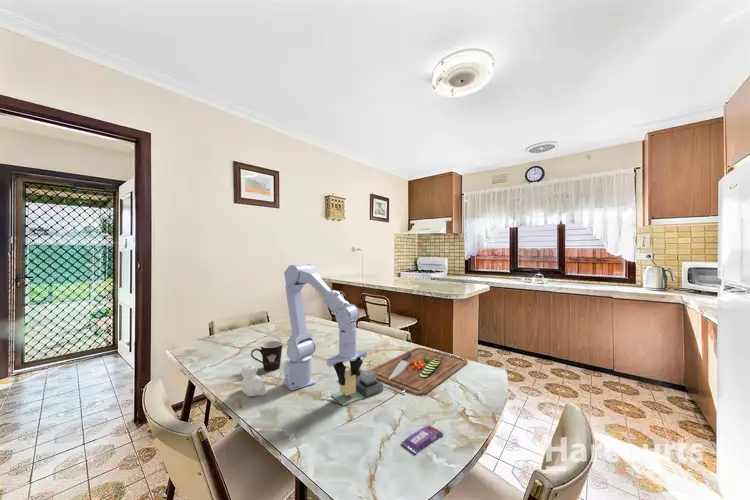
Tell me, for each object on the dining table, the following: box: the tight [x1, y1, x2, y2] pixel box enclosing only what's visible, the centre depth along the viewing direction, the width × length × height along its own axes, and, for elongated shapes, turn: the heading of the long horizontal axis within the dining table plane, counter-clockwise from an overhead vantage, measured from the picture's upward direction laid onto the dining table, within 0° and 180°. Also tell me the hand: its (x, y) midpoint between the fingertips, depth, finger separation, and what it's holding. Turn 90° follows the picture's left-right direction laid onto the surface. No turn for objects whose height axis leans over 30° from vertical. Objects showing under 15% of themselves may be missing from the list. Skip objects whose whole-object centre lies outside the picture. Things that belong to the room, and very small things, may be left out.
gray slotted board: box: [345, 368, 384, 398], centre depth 103 cm, size 7×17×2 cm, turn 37°
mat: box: [330, 390, 365, 407], centre depth 94 cm, size 8×8×1 cm
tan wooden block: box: [339, 369, 357, 396], centre depth 94 cm, size 4×4×6 cm
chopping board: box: [370, 347, 468, 396], centre depth 118 cm, size 45×27×3 cm, turn 139°
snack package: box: [400, 424, 444, 453], centre depth 73 cm, size 12×2×5 cm
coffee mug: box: [250, 340, 283, 372], centre depth 118 cm, size 12×9×10 cm
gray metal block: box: [360, 368, 376, 387], centre depth 99 cm, size 4×4×6 cm
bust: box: [240, 364, 267, 398], centre depth 96 cm, size 12×8×11 cm
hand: (347, 382), depth 94 cm, fingers closed on tan wooden block, 4 cm apart
